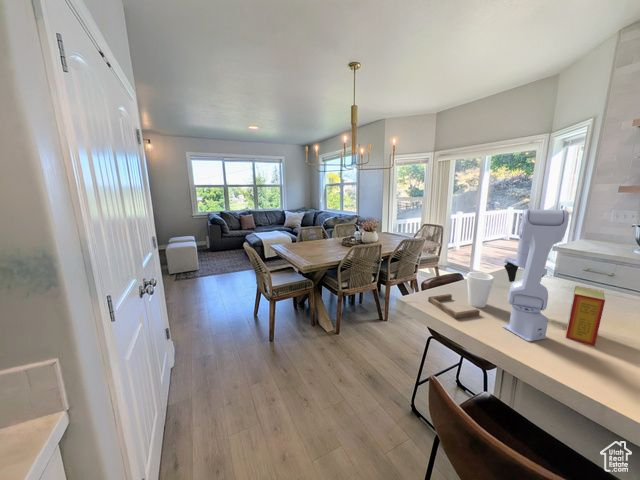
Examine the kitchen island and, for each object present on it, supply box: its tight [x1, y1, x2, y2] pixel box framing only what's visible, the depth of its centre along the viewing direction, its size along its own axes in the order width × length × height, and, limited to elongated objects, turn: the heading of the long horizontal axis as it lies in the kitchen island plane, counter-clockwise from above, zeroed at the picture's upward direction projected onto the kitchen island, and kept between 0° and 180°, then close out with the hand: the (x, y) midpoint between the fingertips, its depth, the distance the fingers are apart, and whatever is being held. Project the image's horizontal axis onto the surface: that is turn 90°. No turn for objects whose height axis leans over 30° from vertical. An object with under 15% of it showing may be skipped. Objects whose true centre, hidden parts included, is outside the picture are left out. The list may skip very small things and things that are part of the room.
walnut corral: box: [427, 293, 481, 320], centre depth 105 cm, size 16×11×2 cm
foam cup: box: [466, 271, 495, 308], centre depth 107 cm, size 10×9×13 cm
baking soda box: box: [565, 285, 606, 347], centre depth 83 cm, size 10×6×16 cm
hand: (521, 285), depth 101 cm, fingers open, 7 cm apart
